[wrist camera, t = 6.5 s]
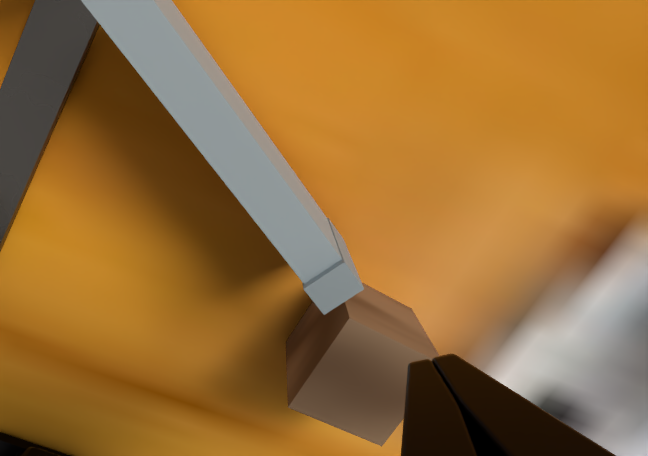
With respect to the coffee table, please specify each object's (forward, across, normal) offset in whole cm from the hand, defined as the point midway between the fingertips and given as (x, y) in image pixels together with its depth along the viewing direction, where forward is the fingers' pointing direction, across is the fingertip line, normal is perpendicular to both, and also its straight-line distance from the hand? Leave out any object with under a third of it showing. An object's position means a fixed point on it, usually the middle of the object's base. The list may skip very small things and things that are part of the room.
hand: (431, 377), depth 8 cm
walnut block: (+12, +1, +6) cm, 13 cm away
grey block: (+11, +4, -4) cm, 12 cm away
